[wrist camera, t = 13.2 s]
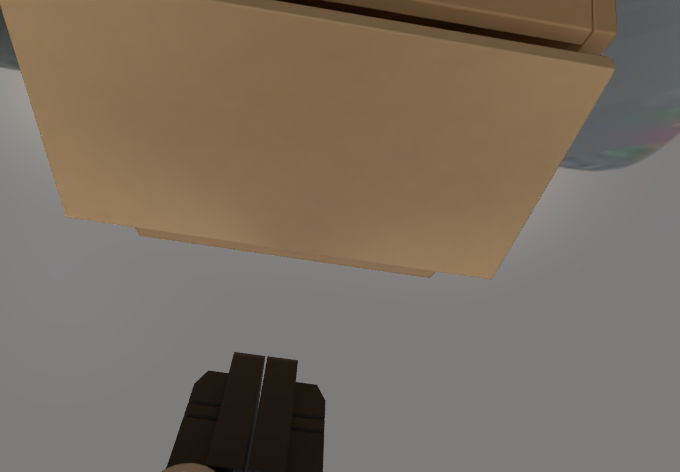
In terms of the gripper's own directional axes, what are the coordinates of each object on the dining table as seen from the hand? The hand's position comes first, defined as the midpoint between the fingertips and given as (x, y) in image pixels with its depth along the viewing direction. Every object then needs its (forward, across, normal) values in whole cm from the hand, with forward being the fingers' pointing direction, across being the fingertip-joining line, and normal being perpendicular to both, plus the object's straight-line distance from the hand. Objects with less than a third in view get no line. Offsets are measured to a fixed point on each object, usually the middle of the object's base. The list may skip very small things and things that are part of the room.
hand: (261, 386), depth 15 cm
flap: (+2, 0, -5) cm, 6 cm away
